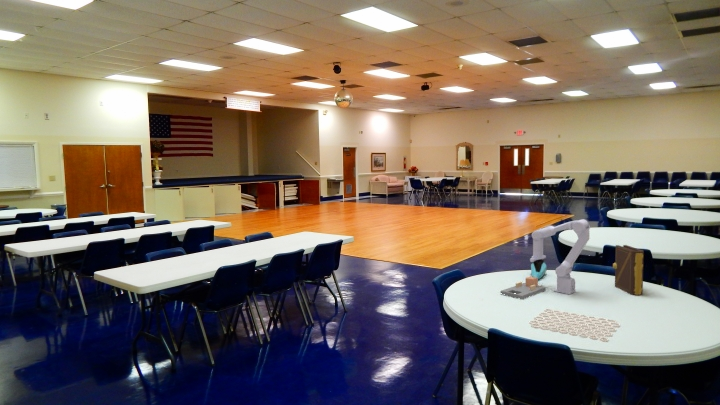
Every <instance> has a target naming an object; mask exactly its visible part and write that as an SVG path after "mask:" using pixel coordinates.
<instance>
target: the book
mask: <svg viewBox="0 0 720 405" xmlns="http://www.w3.org/2000/svg"><path fill="white" fill-rule="evenodd" d="M644 252H645V251H644V250H643V249H640V248H636V247H633V246H630V245H627V244H623V245H620V244H615V256H614V257H615V258H614V260H615V261H614V263H612V268H613V269H614V287H615V288H617V289H619V290H621V291H623V292H625V293H626V294H628V295H631V296H643V292H644V291H643V289H644V283H643V282H644V256H645V253H644Z"/></svg>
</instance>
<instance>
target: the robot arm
mask: <svg viewBox="0 0 720 405" xmlns="http://www.w3.org/2000/svg"><path fill="white" fill-rule="evenodd" d="M567 229H569V230H571V231H572V230H573V231H574V232H575V234H576V235H577V238H578V239H577V240H576V241H575V243H574V245H573V246H572V248H571V249H570V251H569V253H568V254H567V256H566V257H565V259H564V260H563V261H562V263H560V265H559V266H557V267H556V268H555V269H554V270H555V274H556V289H554V290H553V292H556V293H562V294H566V295H571V294H573V293H576V292H577V291H576V279H575V278H574V277H572V276H571V274H572V271H573V267H574V263H575V262H576V260H577V259H578V257H579V256H580V254H581V252H582V251H583V249H584V247H585V246H586V245H587V244H588V242H589V241H590V229H591V226H590V223H589V221H588V220H586V219H585V218H584V219H583V218H581V219H579V220H578V219H577V220H572V221H568V222H565V223H562V224H559V225H557V226H553V225H550V224H549V225H546V226H545V227H543V228H542V227H540V228H539V229H537V230H534V231H532V233H531V238H532V256H530V257H531V258H530V257H529V262H530V263H532V264H534V267H535V270H536V272H540V270H541V267H542V264H543V263H545V260H544V259H546V258H547V255H546V254H545V255H544V239H545V238H548V237H551V236H555V235H556V233H558V232H561V231H563V230H567Z"/></svg>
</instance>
